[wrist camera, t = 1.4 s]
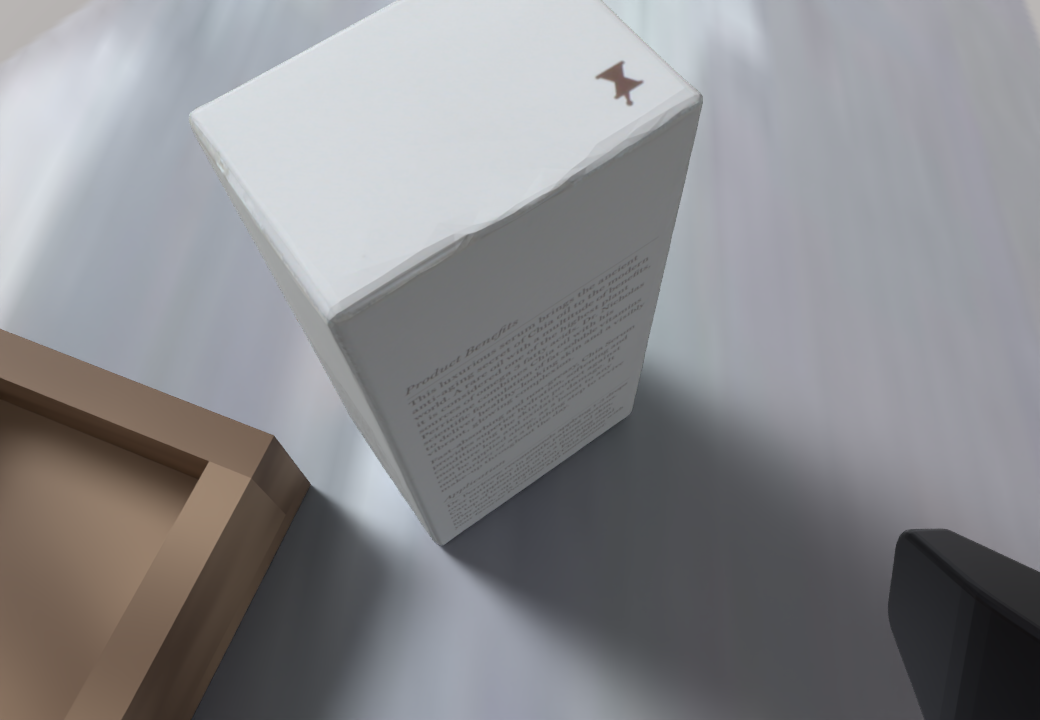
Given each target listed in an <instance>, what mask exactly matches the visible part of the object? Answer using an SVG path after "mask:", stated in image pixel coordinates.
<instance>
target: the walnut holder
mask: <svg viewBox="0 0 1040 720" xmlns="http://www.w3.org/2000/svg"><path fill="white" fill-rule="evenodd" d="M310 485H311V484H310V482H309V481H308V480H307V478H306V477H305V476H304V474H303V473H302V472H301V471H300V469H299V468H298V467H297V465H296V464H295V463H294V461H293V460H292V459H291V457H290V456H289V455H288V453H287V452H286V451H285V449H284V448H283V447H282V445H281V444H280V443H279V442H278V440H277V439H276V438H275V436H274V435H271V434H268V433H266V432H263V431H261V430H258V429H256V428H253V427H250V426H248V425H245V424H243V423H240V422H238V421H235V420H233V419H230V418H227V417H225V416H222V415H220V414H217V413H215V412H212V411H209V410H207V409H204V408H202V407H199V406H197V405H194V404H191V403H189V402H186V401H184V400H181V399H179V398H176V397H174V396H171V395H168V394H166V393H163V392H161V391H158V390H156V389H153V388H150V387H148V386H145V385H143V384H140V383H138V382H135V381H132V380H130V379H127V378H125V377H122V376H120V375H117V374H115V373H112V372H109V371H107V370H104V369H102V368H99V367H97V366H94V365H91V364H89V363H86V362H84V361H81V360H79V359H76V358H73V357H71V356H68V355H66V354H63V353H61V352H58V351H56V350H53V349H50V348H48V347H45V346H43V345H40V344H38V343H35V342H32V341H30V340H27V339H25V338H22V337H20V336H17V335H14V334H12V333H9V332H7V331H4V330H2V329H0V720H191V719H192V717H193V715H194V713H195V711H196V709H197V707H198V705H199V703H200V701H201V699H202V697H203V695H204V693H205V691H206V689H207V687H208V685H209V683H210V681H211V679H212V678H213V676H214V674H215V672H216V670H217V668H218V666H219V664H220V662H221V660H222V658H223V656H224V654H225V652H226V650H227V648H228V646H229V644H230V642H231V640H232V638H233V636H234V634H235V632H236V630H237V628H238V626H239V624H240V622H241V620H242V618H243V617H244V615H245V613H246V611H247V609H248V607H249V605H250V603H251V601H252V599H253V597H254V595H255V593H256V591H257V589H258V587H259V585H260V583H261V581H262V579H263V577H264V575H265V573H266V571H267V569H268V567H269V565H270V563H271V561H272V559H273V558H274V556H275V554H276V552H277V550H278V548H279V546H280V544H281V542H282V540H283V538H284V536H285V534H286V532H287V530H288V528H289V526H290V524H291V522H292V520H293V518H294V516H295V514H296V512H297V510H298V508H299V506H300V504H301V502H302V500H303V499H304V497H305V495H306V493H307V491H308V489H309V487H310Z"/></svg>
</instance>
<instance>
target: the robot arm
mask: <svg viewBox="0 0 1040 720" xmlns="http://www.w3.org/2000/svg"><path fill="white" fill-rule="evenodd" d="M888 615H889V622H890V626H891V630H892V633H893V635H894V638H895V641H896V643H897V646H898V649H899V652H900V654H901V657H902V660H903V663H904V665H905V668H906V671H907V673H908V676H909V679H910V682H911V684H912V687H913V690H914V692H915V695H916V698H917V701H918V703H919V706H920V709H921V711H922V714H923V717H924V720H1040V572H1038V571H1036V570H1034V569H1032V568H1030V567H1028V566H1025V565H1023V564H1021V563H1019V562H1017V561H1015V560H1013V559H1010V558H1008V557H1006V556H1004V555H1002V554H1000V553H998V552H995V551H993V550H991V549H989V548H987V547H985V546H982V545H980V544H978V543H976V542H974V541H972V540H970V539H967V538H965V537H963V536H961V535H959V534H957V533H955V532H952V531H950V530H947V529H910V530H906V531H904V532H903V533H902V534H901V535H900V536H899V539H898V541H897V544H896V549H895V557H894V564H893V571H892V579H891V586H890V593H889V601H888Z"/></svg>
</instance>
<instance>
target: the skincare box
mask: <svg viewBox="0 0 1040 720" xmlns="http://www.w3.org/2000/svg"><path fill="white" fill-rule="evenodd" d="M702 104H703V96H702V95H701V93H700V92H699V91H698V90H696V89H695V88H694V87H693V86H692V85H691V84H689V83H688V82H687V81H686V80H685V79H684V78H683V77H682V76H681V75H680V74H678V73H677V72H676V71H675V70H674V69H673V68H672V67H671V66H670V65H669V64H668V63H666V62H665V61H664V60H663V59H662V58H661V57H660V56H659V55H658V54H657V53H656V52H655V51H654V50H653V49H652V48H651V47H650V46H648V45H647V44H646V43H645V42H644V41H643V40H642V39H641V38H640V37H639V36H638V35H637V34H636V33H635V32H634V31H633V30H632V29H631V28H630V27H629V26H627V25H626V24H625V23H624V22H623V21H622V20H621V19H620V18H619V17H618V16H617V15H616V14H615V13H614V12H613V11H612V10H611V9H610V8H609V7H608V6H607V5H606V4H605V3H604V2H603V1H602V0H397V1H395V2H394V3H392V4H390V5H388V6H386V7H384V8H382V9H381V10H379V11H377V12H375V13H373V14H371V15H370V16H368V17H366V18H364V19H362V20H360V21H358V22H357V23H355V24H353V25H351V26H349V27H347V28H345V29H344V30H342V31H340V32H338V33H336V34H335V35H333V36H331V37H329V38H327V39H325V40H324V41H322V42H320V43H318V44H316V45H315V46H313V47H311V48H309V49H307V50H305V51H304V52H302V53H300V54H298V55H296V56H294V57H293V58H291V59H289V60H287V61H285V62H283V63H282V64H280V65H278V66H276V67H274V68H272V69H270V70H268V71H267V72H265V73H263V74H261V75H259V76H257V77H255V78H253V79H252V80H250V81H248V82H246V83H244V84H243V85H241V86H239V87H237V88H235V89H233V90H232V91H230V92H228V93H226V94H224V95H222V96H221V97H219V98H217V99H215V100H213V101H211V102H209V103H207V104H205V105H203V106H200V107H198V108H196V109H195V110H194V111H193V112H191V113H190V115H189V122H190V125H191V128H192V130H193V133H194V134H195V136H196V138H197V140H198V142H199V144H200V146H201V147H202V149H203V151H204V153H205V155H206V156H207V158H208V160H209V162H210V164H211V165H212V167H213V169H214V171H215V173H216V174H217V176H218V178H219V180H220V182H221V183H222V185H223V187H224V189H225V191H226V192H227V194H228V196H229V198H230V200H231V201H232V203H233V205H234V207H235V209H236V210H237V212H238V214H239V216H240V217H241V219H242V221H243V223H244V225H245V226H246V228H247V230H248V232H249V234H250V235H251V237H252V239H253V241H254V243H255V244H256V246H257V248H258V250H259V252H260V253H261V255H262V257H263V259H264V261H265V262H266V264H267V266H268V268H269V270H270V271H271V273H272V275H273V277H274V279H275V280H276V282H277V284H278V286H279V288H280V290H281V291H282V293H283V295H284V297H285V299H286V301H287V302H288V304H289V306H290V308H291V309H292V311H293V313H294V315H295V316H296V318H297V320H298V322H299V324H300V325H301V327H302V329H303V331H304V333H305V335H306V336H307V338H308V340H309V342H310V344H311V346H312V347H313V349H314V351H315V353H316V355H317V357H318V358H319V360H320V362H321V364H322V366H323V368H324V369H325V371H326V373H327V375H328V377H329V379H330V380H331V382H332V384H333V386H334V388H335V389H336V391H337V393H338V395H339V397H340V399H341V401H342V402H343V404H344V406H345V408H346V410H347V412H348V414H349V415H350V417H351V419H352V420H353V422H354V423H355V425H356V426H357V428H358V429H359V431H360V432H361V434H362V435H363V437H364V438H365V440H366V442H367V443H368V445H369V446H370V448H371V449H372V451H373V452H374V454H375V455H376V457H377V458H378V460H379V461H380V463H381V464H382V466H383V467H384V469H385V470H386V472H387V473H388V475H389V476H390V478H391V479H392V481H393V482H394V484H395V485H396V487H397V488H398V490H399V491H400V493H401V494H402V496H403V497H404V499H405V500H406V502H407V503H408V504H409V506H410V507H411V509H412V510H413V512H414V513H415V515H416V516H417V518H418V519H419V521H420V522H421V524H422V525H423V527H424V528H425V530H426V531H427V533H428V534H429V535H430V537H431V538H432V540H433V541H434V542H435V543H436V544H438V545H444V544H446V543H447V542H449V541H450V540H451V539H453V538H454V537H455V536H457V535H458V534H460V533H461V532H463V531H464V530H465V529H467V528H468V527H470V526H471V525H473V524H474V523H476V522H477V521H478V520H480V519H481V518H483V517H484V516H486V515H487V514H488V513H490V512H491V511H493V510H494V509H496V508H497V507H499V506H500V505H501V504H503V503H504V502H506V501H507V500H509V499H510V498H511V497H513V496H514V495H516V494H517V493H519V492H520V491H521V490H523V489H524V488H526V487H527V486H529V485H530V484H532V483H533V482H534V481H536V480H537V479H539V478H540V477H541V476H543V475H544V474H545V473H547V472H548V471H550V470H551V469H553V468H554V467H555V466H557V465H558V464H560V463H561V462H563V461H564V460H566V459H567V458H569V457H570V456H571V455H573V454H574V453H576V452H577V451H578V450H580V449H581V448H582V447H584V446H585V445H587V444H588V443H590V442H591V441H592V440H594V439H595V438H597V437H598V436H600V435H601V434H602V433H604V432H605V431H607V430H608V429H610V428H611V427H613V426H614V425H615V424H617V423H618V422H619V421H621V420H623V419H624V418H626V417H627V416H628V415H629V414H631V412H632V409H633V405H634V400H635V396H636V392H637V388H638V383H639V379H640V375H641V371H642V367H643V362H644V357H645V352H646V348H647V343H648V339H649V334H650V330H651V326H652V322H653V317H654V312H655V309H656V305H657V300H658V296H659V292H660V286H661V282H662V278H663V273H664V269H665V265H666V260H667V256H668V252H669V248H670V243H671V238H672V233H673V230H674V226H675V222H676V217H677V213H678V208H679V204H680V200H681V196H682V192H683V187H684V183H685V179H686V175H687V170H688V166H689V160H690V156H691V152H692V148H693V144H694V140H695V135H696V131H697V126H698V121H699V116H700V112H701V108H702Z"/></svg>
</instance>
